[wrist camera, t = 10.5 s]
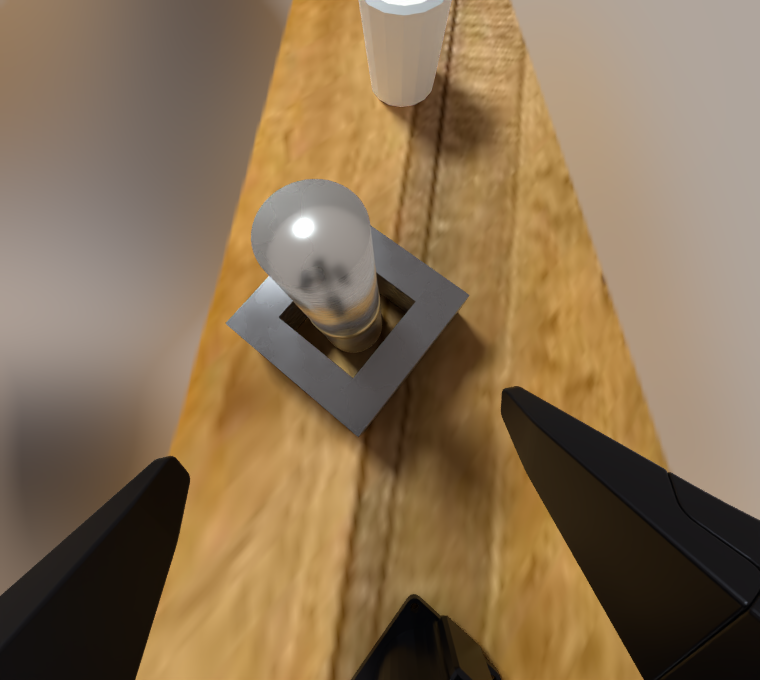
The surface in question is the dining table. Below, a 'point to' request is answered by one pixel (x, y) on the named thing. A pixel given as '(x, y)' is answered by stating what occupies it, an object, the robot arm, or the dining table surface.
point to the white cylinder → (403, 46)
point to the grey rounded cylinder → (322, 259)
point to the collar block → (387, 364)
